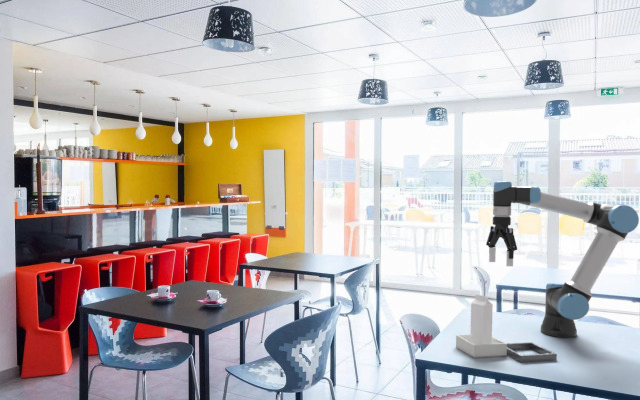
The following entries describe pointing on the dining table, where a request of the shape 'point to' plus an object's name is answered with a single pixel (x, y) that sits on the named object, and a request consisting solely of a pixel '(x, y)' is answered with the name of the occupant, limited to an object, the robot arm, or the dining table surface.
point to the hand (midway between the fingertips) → (500, 264)
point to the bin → (481, 347)
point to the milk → (481, 321)
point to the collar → (543, 356)
